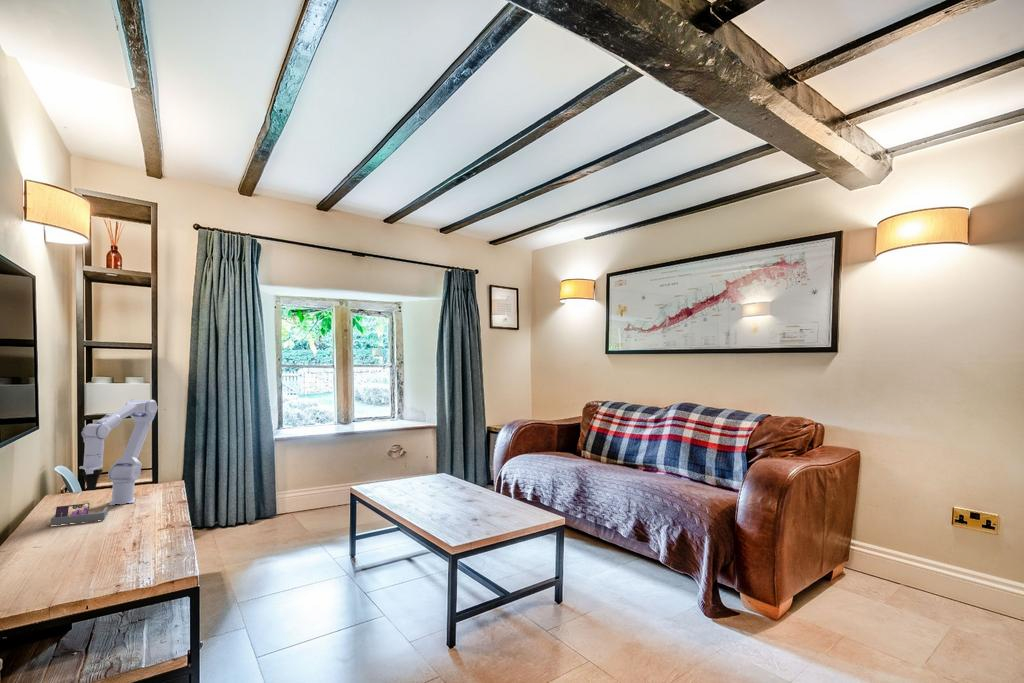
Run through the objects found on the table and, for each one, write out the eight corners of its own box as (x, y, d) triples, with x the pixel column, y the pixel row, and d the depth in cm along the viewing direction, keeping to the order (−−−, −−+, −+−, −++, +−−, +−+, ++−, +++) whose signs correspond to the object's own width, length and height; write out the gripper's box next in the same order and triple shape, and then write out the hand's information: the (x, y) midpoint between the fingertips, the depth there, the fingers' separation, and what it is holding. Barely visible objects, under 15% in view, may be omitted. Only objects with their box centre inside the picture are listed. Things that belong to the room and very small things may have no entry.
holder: (56, 520, 175) (56, 512, 175) (107, 514, 183) (108, 506, 183) (50, 527, 168) (50, 518, 168) (103, 520, 176) (104, 512, 176)
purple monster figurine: (56, 506, 171) (89, 502, 176) (58, 508, 174) (90, 504, 180) (53, 526, 168) (87, 521, 174) (55, 527, 172) (88, 523, 178)
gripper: (84, 452, 189) (81, 486, 188) (76, 458, 177) (73, 494, 176) (106, 451, 193) (104, 484, 192) (101, 456, 181) (98, 492, 180)
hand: (91, 489), depth 185 cm, fingers closed
